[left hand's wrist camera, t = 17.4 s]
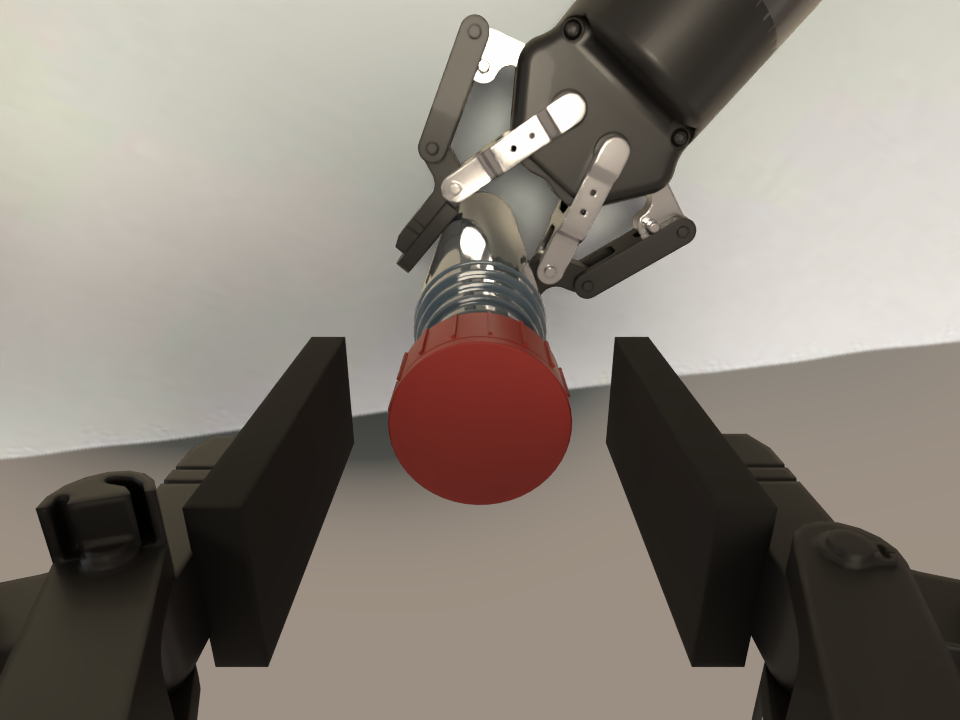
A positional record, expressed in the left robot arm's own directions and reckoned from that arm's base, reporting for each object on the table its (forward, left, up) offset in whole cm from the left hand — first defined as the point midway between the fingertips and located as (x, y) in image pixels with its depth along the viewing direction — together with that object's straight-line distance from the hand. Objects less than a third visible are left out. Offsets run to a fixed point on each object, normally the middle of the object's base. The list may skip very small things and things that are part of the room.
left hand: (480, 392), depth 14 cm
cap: (0, 0, +1) cm, 1 cm away
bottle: (0, 0, -22) cm, 22 cm away
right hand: (-2, -2, -16) cm, 16 cm away
